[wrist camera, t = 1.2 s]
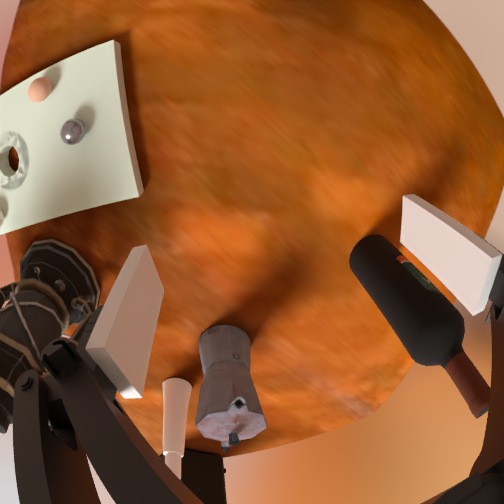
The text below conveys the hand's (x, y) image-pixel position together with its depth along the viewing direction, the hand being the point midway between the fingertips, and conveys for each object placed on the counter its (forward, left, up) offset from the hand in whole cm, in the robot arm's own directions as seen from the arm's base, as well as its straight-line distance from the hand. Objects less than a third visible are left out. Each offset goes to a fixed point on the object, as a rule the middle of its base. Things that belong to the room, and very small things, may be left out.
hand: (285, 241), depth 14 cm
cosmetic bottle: (+41, -19, -23) cm, 51 cm away
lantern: (+13, -32, -23) cm, 42 cm away
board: (-8, -26, -23) cm, 36 cm away
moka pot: (+30, -7, -23) cm, 38 cm away
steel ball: (-8, -19, -19) cm, 28 cm away
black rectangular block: (+92, -34, -23) cm, 100 cm away
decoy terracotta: (-15, -23, -19) cm, 34 cm away
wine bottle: (+17, +18, -23) cm, 34 cm away
